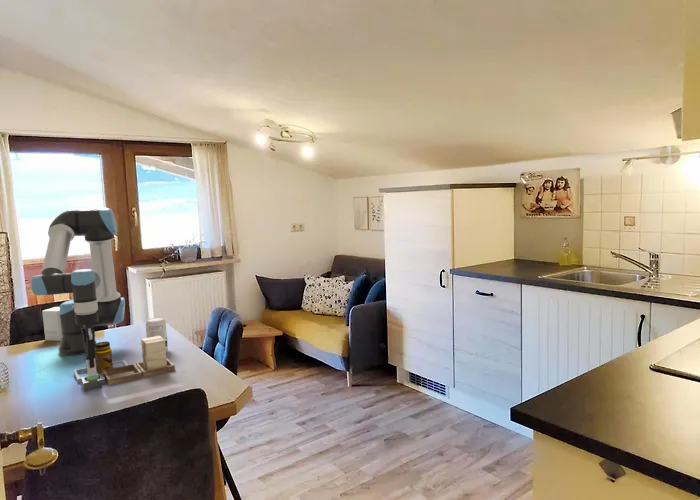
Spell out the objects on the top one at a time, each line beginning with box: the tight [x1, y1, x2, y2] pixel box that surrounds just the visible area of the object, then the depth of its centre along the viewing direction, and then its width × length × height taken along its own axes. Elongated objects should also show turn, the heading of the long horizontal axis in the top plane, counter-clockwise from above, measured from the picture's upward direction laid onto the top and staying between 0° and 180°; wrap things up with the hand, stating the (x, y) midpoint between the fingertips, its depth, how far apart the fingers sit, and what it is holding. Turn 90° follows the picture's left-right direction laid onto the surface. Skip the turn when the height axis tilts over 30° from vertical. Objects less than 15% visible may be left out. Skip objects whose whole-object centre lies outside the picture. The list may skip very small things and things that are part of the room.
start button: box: [86, 373, 99, 381], centre depth 186 cm, size 4×4×2 cm
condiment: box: [95, 341, 114, 373], centre depth 199 cm, size 7×8×12 cm
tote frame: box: [73, 359, 129, 384], centre depth 199 cm, size 13×19×2 cm
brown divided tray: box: [102, 357, 176, 386], centre depth 195 cm, size 13×24×3 cm, turn 125°
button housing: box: [80, 372, 106, 392], centre depth 186 cm, size 8×7×3 cm
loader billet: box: [140, 336, 168, 371], centre depth 197 cm, size 8×7×12 cm
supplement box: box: [41, 306, 62, 342], centre depth 250 cm, size 9×9×15 cm
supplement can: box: [145, 317, 169, 353], centre depth 221 cm, size 8×8×15 cm
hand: (92, 375), depth 185 cm, fingers closed
